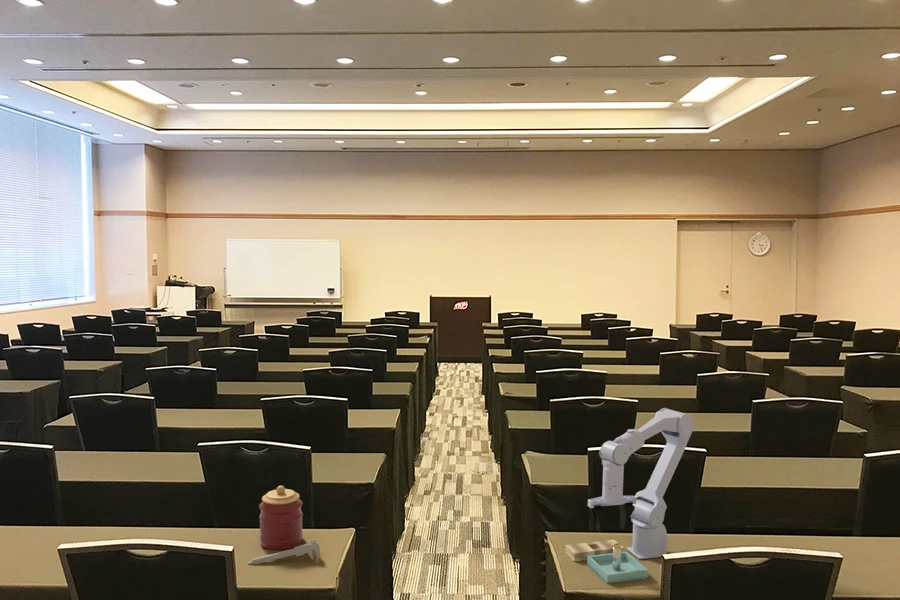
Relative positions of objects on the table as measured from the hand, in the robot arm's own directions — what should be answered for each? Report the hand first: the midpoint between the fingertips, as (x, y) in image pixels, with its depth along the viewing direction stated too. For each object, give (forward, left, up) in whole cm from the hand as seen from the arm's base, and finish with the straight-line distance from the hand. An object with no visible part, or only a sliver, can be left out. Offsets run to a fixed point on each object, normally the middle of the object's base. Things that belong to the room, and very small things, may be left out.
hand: (611, 529), depth 216 cm
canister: (+91, -40, -10) cm, 100 cm away
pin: (+1, +5, -9) cm, 11 cm away
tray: (+1, +5, -10) cm, 11 cm away
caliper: (+91, -26, -11) cm, 95 cm away
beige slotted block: (+2, -7, -10) cm, 12 cm away
